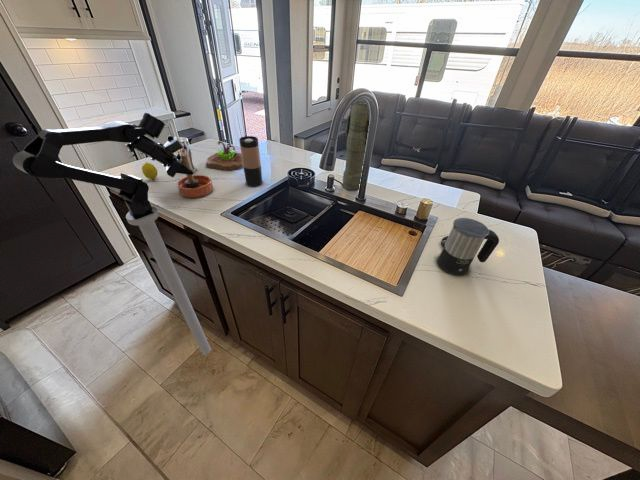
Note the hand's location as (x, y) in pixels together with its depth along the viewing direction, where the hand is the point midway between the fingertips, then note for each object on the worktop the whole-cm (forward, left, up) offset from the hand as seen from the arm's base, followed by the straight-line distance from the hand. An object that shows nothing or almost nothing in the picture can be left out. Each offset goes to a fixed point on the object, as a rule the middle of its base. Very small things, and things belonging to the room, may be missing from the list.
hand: (192, 172), depth 104 cm
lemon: (-8, +24, -9) cm, 27 cm away
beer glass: (+8, +22, -9) cm, 25 cm away
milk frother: (+34, -97, -9) cm, 103 cm away
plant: (+27, +18, -9) cm, 34 cm away
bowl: (0, 0, -9) cm, 9 cm away
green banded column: (+52, -45, -9) cm, 69 cm away
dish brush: (-1, 0, -7) cm, 7 cm away
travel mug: (+22, -11, -9) cm, 26 cm away
